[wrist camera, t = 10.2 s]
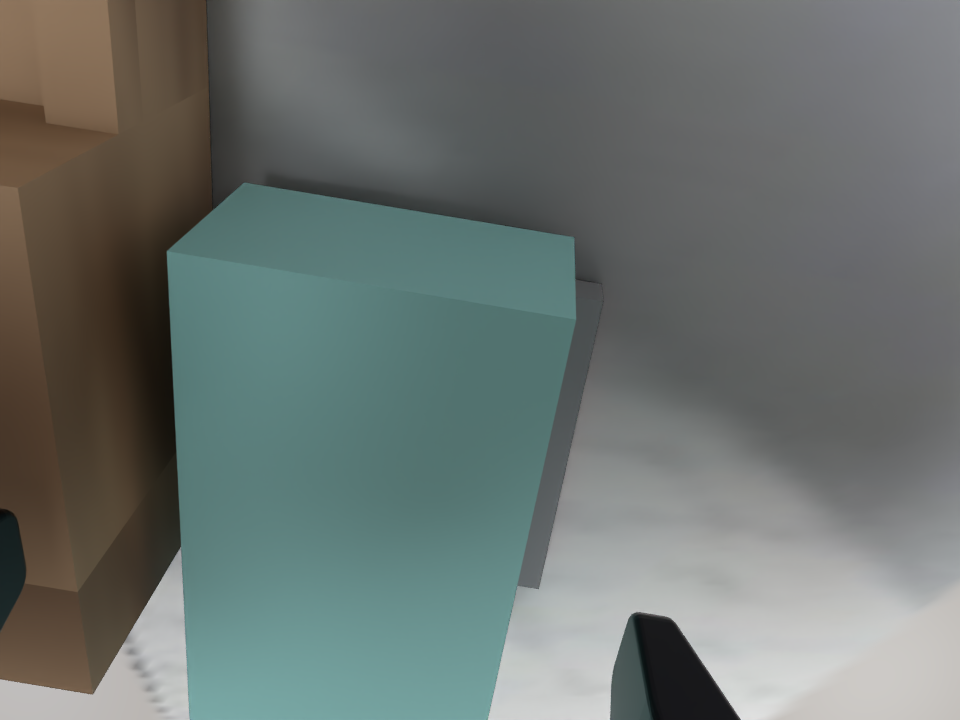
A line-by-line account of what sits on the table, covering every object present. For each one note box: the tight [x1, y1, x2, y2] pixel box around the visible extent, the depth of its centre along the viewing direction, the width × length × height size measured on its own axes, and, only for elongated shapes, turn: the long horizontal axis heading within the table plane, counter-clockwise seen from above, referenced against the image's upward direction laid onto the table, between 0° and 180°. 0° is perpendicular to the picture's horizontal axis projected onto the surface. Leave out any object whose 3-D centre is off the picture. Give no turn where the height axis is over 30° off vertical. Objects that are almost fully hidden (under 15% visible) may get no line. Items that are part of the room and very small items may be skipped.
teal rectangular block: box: [167, 183, 576, 720], centre depth 12 cm, size 8×4×2 cm, turn 172°
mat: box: [517, 280, 603, 589], centre depth 13 cm, size 6×6×1 cm
